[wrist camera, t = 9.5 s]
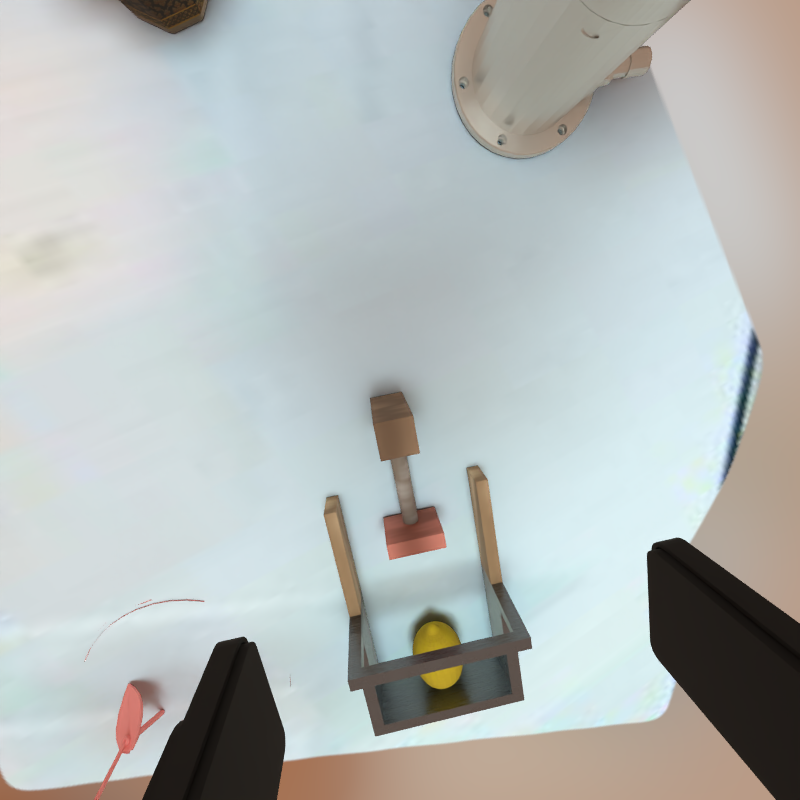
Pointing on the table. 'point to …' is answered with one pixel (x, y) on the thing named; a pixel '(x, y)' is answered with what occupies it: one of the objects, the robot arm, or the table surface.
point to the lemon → (434, 639)
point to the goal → (419, 702)
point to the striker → (403, 480)
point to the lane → (483, 529)
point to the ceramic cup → (168, 12)
